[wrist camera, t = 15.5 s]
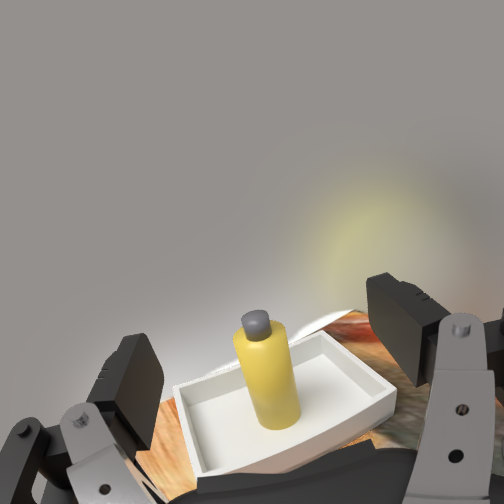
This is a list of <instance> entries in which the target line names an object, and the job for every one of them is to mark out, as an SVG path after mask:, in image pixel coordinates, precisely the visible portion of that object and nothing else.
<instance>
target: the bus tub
mask: <svg viewBox="0 0 504 504" xmlns="http://www.w3.org/2000/svg"><path fill="white" fill-rule="evenodd" d="M288 346H289V351H290V356H291V361H292V366H293V372H294V377H295V382H296V388H297V393H298V398H299V404H300V409H301V415H300V418H299V420H298V421H297V422H296V423H295V424H294V425H292V426H291V427H289V428H286V429H283V430H269V429H266V428H264V427H263V426H261V425H260V423H259V422H258V419H257V416H256V413H255V410H254V407H253V404H252V401H251V397H250V394H249V391H248V388H247V385H246V382H245V379H244V375H243V372H242V369H241V366H240V364H238V365H235V366H232V367H229V368H227V369H224V370H221V371H218V372H215V373H213V374H210V375H207V376H204V377H201V378H198V379H195V380H192V381H189V382H186V383H182V384H179V385H176V386H173V387H172V388H173V392H174V397H175V401H176V406H177V410H178V415H179V419H180V423H181V427H182V431H183V435H184V439H185V443H186V447H187V450H188V454H189V458H190V461H191V465H192V468H193V472H194V475H195V478H196V482H197V477H206V476H215V475H224V474H231V473H238V472H240V473H270V474H281V473H287V472H290V471H292V470H294V469H297V468H299V467H301V466H303V465H305V464H307V463H309V462H311V461H313V460H315V459H317V458H319V457H321V456H323V455H325V454H327V453H329V452H332V451H335V450H337V449H339V448H341V447H343V446H344V445H346V444H348V443H350V442H351V441H353V440H355V439H357V438H358V437H360V436H362V435H363V434H365V433H367V432H368V431H370V430H372V429H373V428H375V427H376V426H378V425H380V424H381V423H383V422H384V421H386V420H387V419H389V418H390V417H392V416H393V415H394V411H395V403H396V394H397V388H395V387H394V386H393V385H391V384H390V383H389V382H388V381H386V380H385V379H384V378H382V377H381V376H380V375H379V374H377V373H376V372H375V371H374V370H372V369H371V368H370V367H368V366H367V365H366V364H365V363H363V362H362V361H361V360H360V359H358V358H357V357H356V356H354V355H353V354H352V353H351V352H349V351H348V350H347V349H346V348H344V347H343V346H342V345H341V344H339V343H338V342H337V341H336V340H334V339H333V338H332V337H331V336H329V335H328V334H327V333H326V332H324V331H323V330H321V331H319V332H316V333H314V334H312V335H310V336H307V337H305V338H303V339H300V340H298V341H296V342H293V343H291V344H289V345H288Z"/></svg>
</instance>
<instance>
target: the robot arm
mask: <svg viewBox="0 0 504 504" xmlns="http://www.w3.org/2000/svg"><path fill="white" fill-rule="evenodd" d="M366 288H367V301H368V316H369V322H370V325H371V328H372V330H373V332H374V333H375V334H376V336H377V337H378V338H379V340H380V341H381V342H382V344H383V345H384V346H385V347H386V349H387V350H388V351H389V353H390V354H391V355H392V357H393V358H394V359H395V361H396V362H397V363H398V365H399V366H400V367H401V369H402V370H403V371H404V373H405V374H406V375H407V377H408V378H409V379H410V381H411V382H412V383H413V385H414V386H415V387H416V388H417V387H419V386H421V385H424V384H426V383H428V384H429V385H430V386H431V388H430V393H429V398H428V403H427V408H426V413H425V418H424V422H423V427H422V431H421V435H420V439H419V443H418V446H417V450H413V449H406V448H380V449H375V447H374V445H373V443H372V441H371V439H368V440H366V441H363V442H360V443H357V444H354V445H351V446H348V447H345V448H342V449H339V450H336V451H332V452H329V453H327V454H325V455H323V456H321V457H319V458H317V459H315V460H313V461H311V462H309V463H307V464H305V465H303V466H301V467H299V468H297V469H294V470H292V471H290V472H287V473H281V474H270V473H240V472H238V473H231V474H224V475H215V476H206V477H197V489H195V490H192V491H189V492H187V493H184V494H182V495H180V496H178V497H176V498H174V499H173V500H171V501H169V500H168V499H167V498H166V497H165V496H164V495H163V493H162V492H161V491H160V489H159V488H158V487H157V486H156V484H155V483H154V482H153V480H152V479H151V478H150V476H149V475H148V473H147V472H146V471H145V469H144V468H143V467H142V465H141V464H140V462H139V461H138V460H137V459H136V457H135V456H136V452H137V451H145V450H150V447H151V442H152V437H153V432H154V427H155V422H156V417H157V412H158V408H159V403H160V398H161V394H162V389H163V385H164V374H163V370H162V367H161V365H160V363H159V361H158V359H157V357H156V354H155V352H154V350H153V348H152V346H151V344H150V342H149V339H148V338H147V336H146V335H145V334H144V333H140V334H135V335H129V336H125V337H123V339H122V341H121V343H120V345H119V347H118V349H117V351H115V352H114V353H113V354H112V355H111V356H110V357H109V358H108V359H107V360H106V361H105V363H104V365H103V367H102V369H101V370H102V371H101V372H100V373H99V375H98V379H97V380H96V382H95V384H94V386H93V388H92V390H91V392H90V394H89V396H88V398H87V401H86V403H80V404H77V405H75V406H73V407H71V408H70V409H69V410H67V411H66V413H65V414H64V415H63V416H62V418H61V421H60V425H56V426H52V427H48V428H44V427H43V425H42V424H41V423H40V422H39V420H38V419H36V418H34V417H29V418H25V419H23V420H21V421H20V422H18V423H17V424H16V425H15V426H14V427H13V428H12V430H11V432H10V434H9V436H8V438H7V440H6V442H5V444H4V446H3V448H2V450H1V452H0V504H37V503H36V502H35V501H34V499H33V497H32V493H31V490H32V486H33V483H34V480H35V478H36V475H37V472H38V471H39V472H40V473H41V474H42V475H43V476H44V477H45V478H46V479H47V480H48V481H47V484H46V487H45V490H44V494H43V497H42V500H41V504H504V477H503V476H499V475H495V474H491V468H492V459H493V447H494V431H495V397H496V398H497V399H498V400H499V402H500V403H501V404H502V405H503V407H504V308H503V313H502V318H501V319H500V320H496V321H491V322H487V323H482V321H481V320H480V319H479V318H478V317H476V316H474V315H472V314H468V313H454V314H451V313H449V312H448V311H447V310H446V309H445V308H443V307H442V306H441V305H440V304H438V303H437V302H436V301H434V300H433V299H432V298H431V299H430V297H429V296H428V295H427V294H426V293H423V291H422V290H421V289H419V288H418V287H417V286H416V285H413V284H410V283H407V282H404V281H402V282H399V281H398V280H396V279H395V278H394V277H393V276H391V275H390V274H389V273H387V272H386V273H383V274H380V275H376V276H373V277H370V278H368V279H367V281H366ZM502 453H503V457H504V438H503V441H502Z"/></svg>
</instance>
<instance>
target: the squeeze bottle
mask: <svg viewBox="0 0 504 504" xmlns="http://www.w3.org/2000/svg"><path fill="white" fill-rule="evenodd" d="M241 321H242V325H243V327H242V328H240V329H239V330H238V331H237V332H236V333H235V334H234V337H233V343H234V346H235V349H236V353H237V356H238V359H239V362H240V366H241V369H242V372H243V375H244V379H245V382H246V385H247V388H248V391H249V394H250V397H251V401H252V404H253V407H254V410H255V413H256V416H257V419H258V422H259V423H260V425H261V426H263V427H264V428H266V429H269V430H283V429H286V428H289V427H291V426H292V425H294V424H295V423H296V422H297V421H298V420H299V418H300V415H301V409H300V404H299V398H298V393H297V388H296V382H295V377H294V372H293V366H292V361H291V356H290V351H289V346H288V341H287V336H286V331H285V327H284V326H283V325H282V324H281V323H279V322H277V321H272V320H269V315H268V313H267V312H266V311H264V310H255V311H251V312H248V313H246V314H245V315H243V316H242V318H241Z"/></svg>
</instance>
